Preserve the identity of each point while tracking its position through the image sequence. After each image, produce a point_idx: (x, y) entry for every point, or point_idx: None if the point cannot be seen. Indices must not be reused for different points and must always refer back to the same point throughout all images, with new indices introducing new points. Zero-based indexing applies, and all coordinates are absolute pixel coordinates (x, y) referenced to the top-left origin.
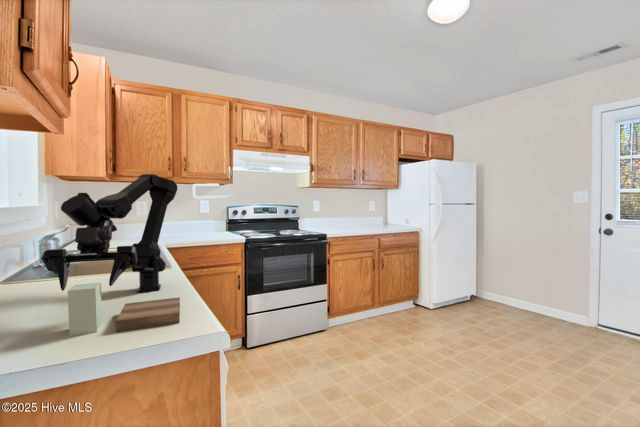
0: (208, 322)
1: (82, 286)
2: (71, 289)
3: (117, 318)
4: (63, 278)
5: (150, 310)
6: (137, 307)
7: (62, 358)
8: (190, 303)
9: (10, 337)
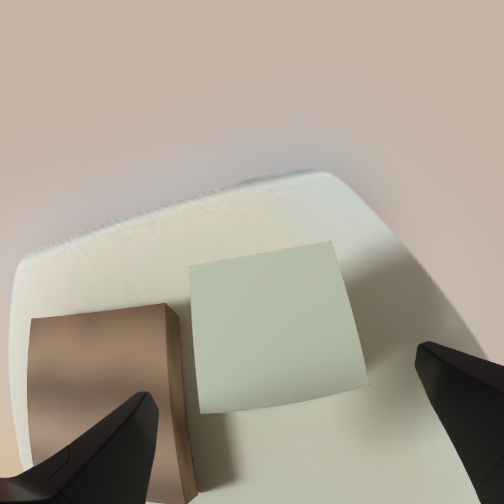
0: (16, 312)
1: (290, 327)
2: (324, 261)
3: (164, 328)
4: (463, 370)
5: (83, 374)
6: None
7: (258, 200)
8: None
9: (469, 343)
